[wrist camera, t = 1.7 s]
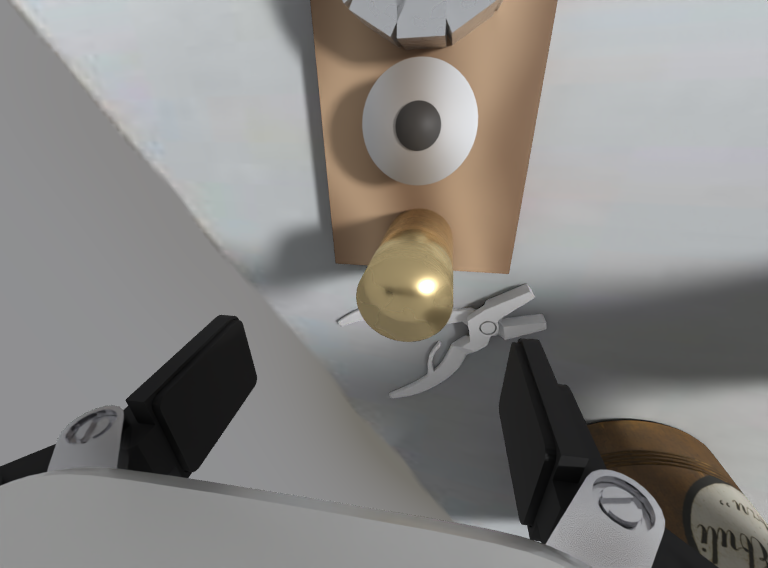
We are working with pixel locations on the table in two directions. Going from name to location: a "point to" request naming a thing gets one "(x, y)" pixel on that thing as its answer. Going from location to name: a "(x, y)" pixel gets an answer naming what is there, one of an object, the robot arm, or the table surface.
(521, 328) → the pliers
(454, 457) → the table surface
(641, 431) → the wooden container
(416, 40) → the ring
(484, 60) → the fitting board
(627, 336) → the table surface
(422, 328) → the brass peg
